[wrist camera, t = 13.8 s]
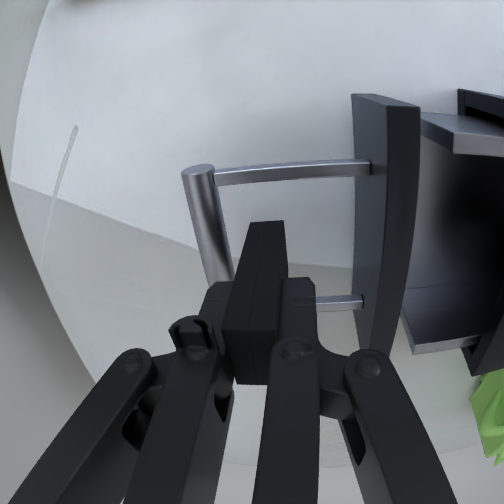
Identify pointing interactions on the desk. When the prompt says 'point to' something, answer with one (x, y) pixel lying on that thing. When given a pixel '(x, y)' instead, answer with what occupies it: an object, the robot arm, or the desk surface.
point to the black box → (500, 324)
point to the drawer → (397, 222)
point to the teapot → (490, 413)
